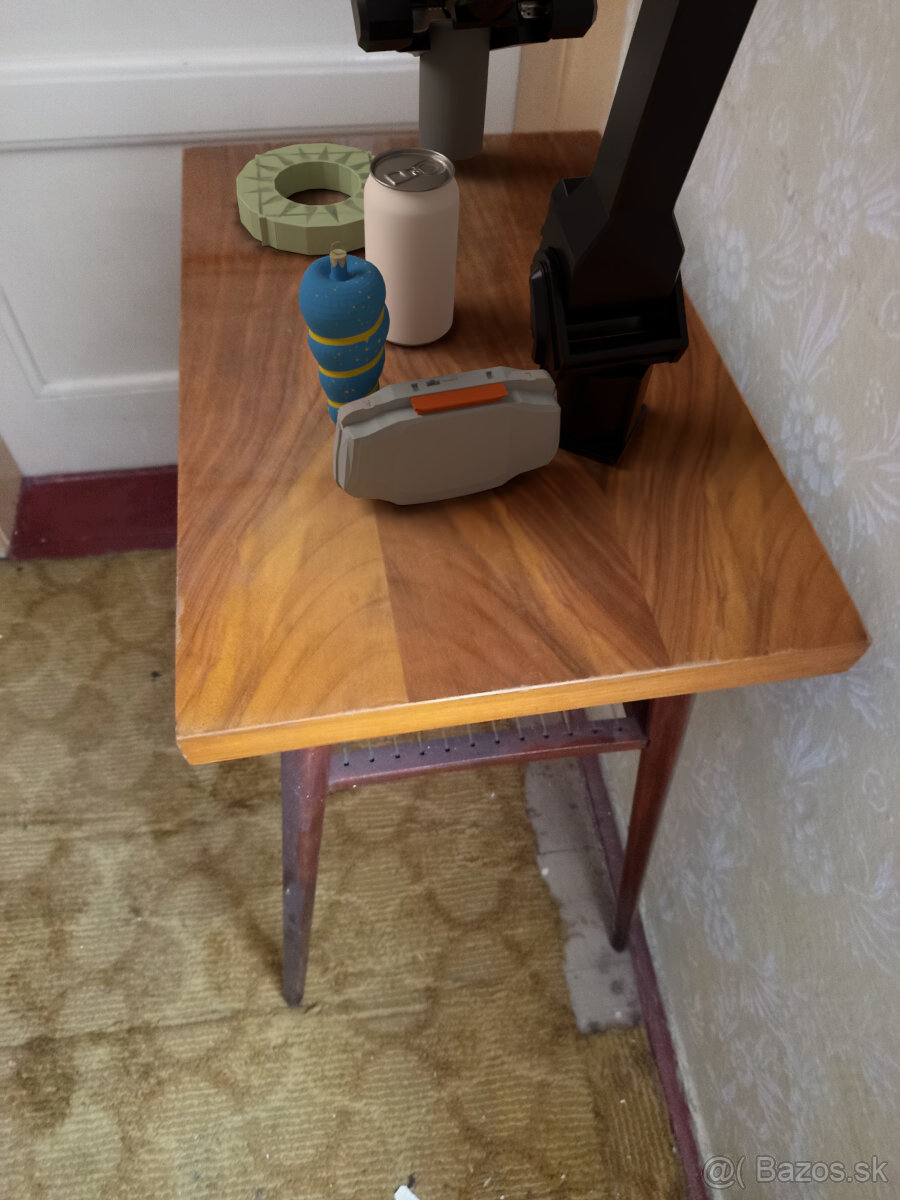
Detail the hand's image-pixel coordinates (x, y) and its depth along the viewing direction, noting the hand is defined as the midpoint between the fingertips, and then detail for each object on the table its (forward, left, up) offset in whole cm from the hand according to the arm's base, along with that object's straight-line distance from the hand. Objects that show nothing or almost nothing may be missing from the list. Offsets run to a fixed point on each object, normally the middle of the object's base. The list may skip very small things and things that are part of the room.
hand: (450, 47), depth 78 cm
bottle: (-1, +1, -8) cm, 8 cm away
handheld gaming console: (-19, +38, -9) cm, 43 cm away
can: (-9, +24, -9) cm, 27 cm away
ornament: (-12, +38, -9) cm, 41 cm away
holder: (+5, +14, -9) cm, 18 cm away
